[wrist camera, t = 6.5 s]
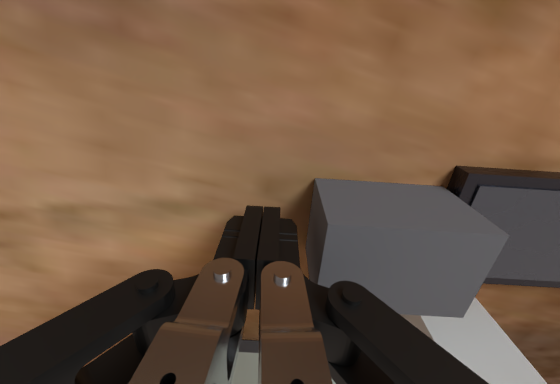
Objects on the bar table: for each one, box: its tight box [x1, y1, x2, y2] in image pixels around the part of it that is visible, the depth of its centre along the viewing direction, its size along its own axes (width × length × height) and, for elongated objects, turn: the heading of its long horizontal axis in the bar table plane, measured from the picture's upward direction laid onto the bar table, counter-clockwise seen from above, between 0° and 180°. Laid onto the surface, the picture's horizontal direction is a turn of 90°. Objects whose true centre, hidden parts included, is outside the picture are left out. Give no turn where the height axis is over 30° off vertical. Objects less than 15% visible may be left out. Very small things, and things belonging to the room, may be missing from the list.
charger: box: [400, 298, 547, 384], centre depth 13 cm, size 4×4×6 cm
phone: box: [447, 166, 560, 288], centre depth 12 cm, size 12×6×1 cm, turn 86°
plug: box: [306, 178, 510, 318], centre depth 11 cm, size 7×4×4 cm, turn 86°
